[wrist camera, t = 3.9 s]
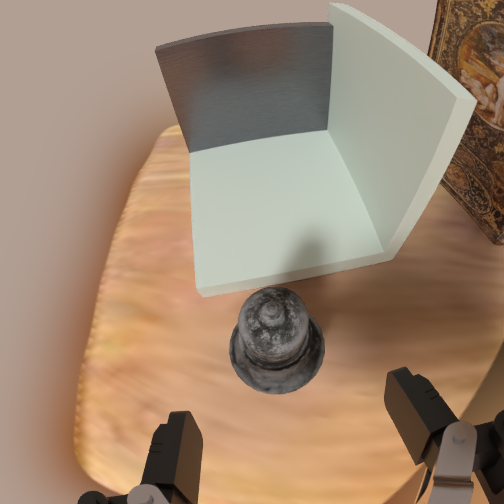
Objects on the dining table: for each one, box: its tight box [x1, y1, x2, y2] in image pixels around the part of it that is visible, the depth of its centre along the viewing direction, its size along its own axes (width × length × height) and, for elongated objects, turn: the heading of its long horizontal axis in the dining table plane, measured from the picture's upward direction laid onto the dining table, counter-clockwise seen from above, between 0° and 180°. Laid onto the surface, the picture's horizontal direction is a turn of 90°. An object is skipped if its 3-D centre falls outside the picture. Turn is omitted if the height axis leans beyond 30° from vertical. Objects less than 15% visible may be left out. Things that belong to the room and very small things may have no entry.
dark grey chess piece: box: [229, 287, 325, 394], centre depth 15 cm, size 6×6×12 cm
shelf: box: [155, 3, 477, 298], centre depth 20 cm, size 16×16×16 cm
